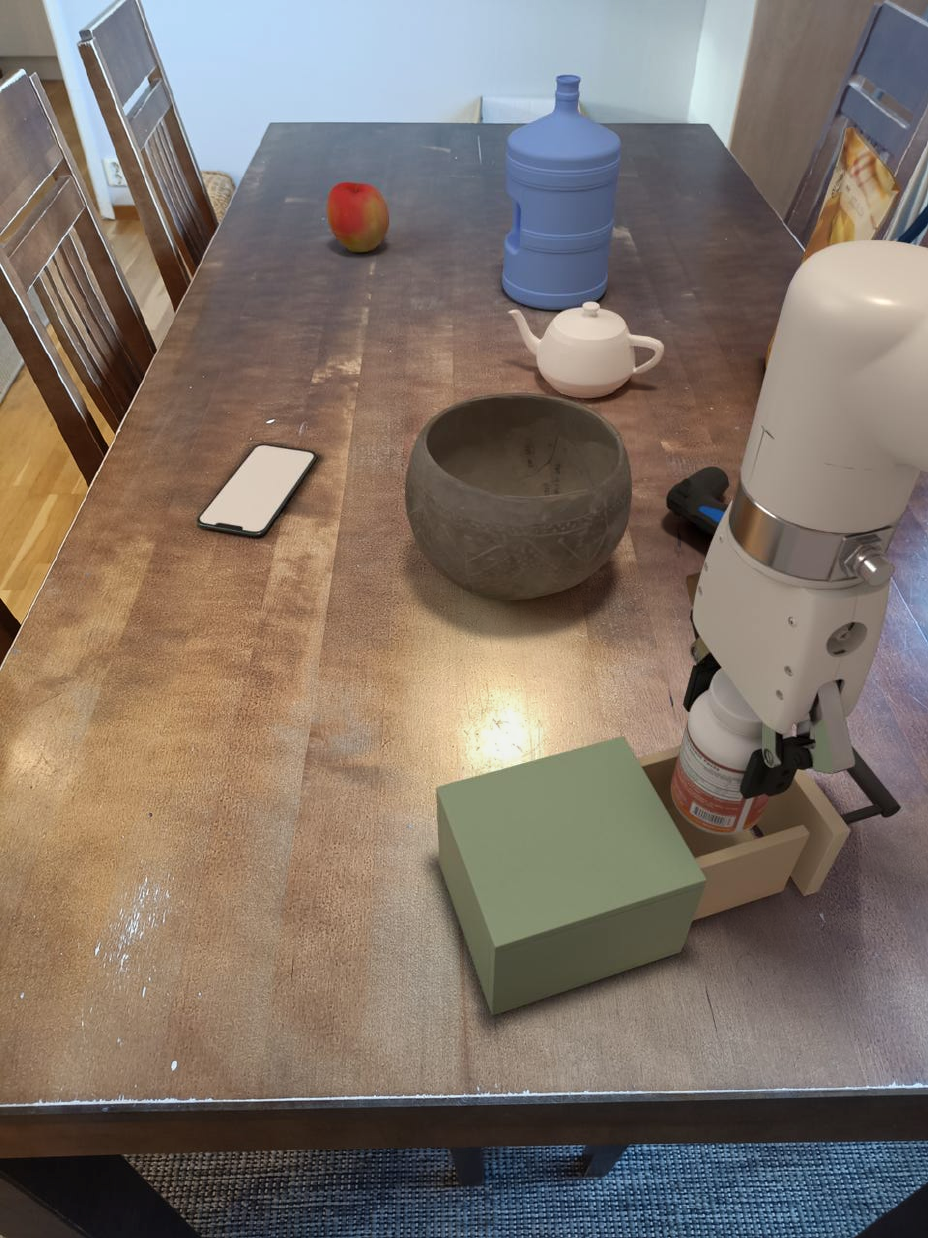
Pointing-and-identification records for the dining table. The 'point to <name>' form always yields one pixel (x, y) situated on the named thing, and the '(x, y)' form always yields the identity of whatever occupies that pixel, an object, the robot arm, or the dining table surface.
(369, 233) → the apple
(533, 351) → the teapot
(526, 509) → the bowl
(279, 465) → the smartphone
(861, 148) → the pancake mix bag
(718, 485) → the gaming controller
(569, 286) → the water jug
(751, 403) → the dining table surface
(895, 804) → the drawer
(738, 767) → the pill bottle
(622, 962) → the cabinet
